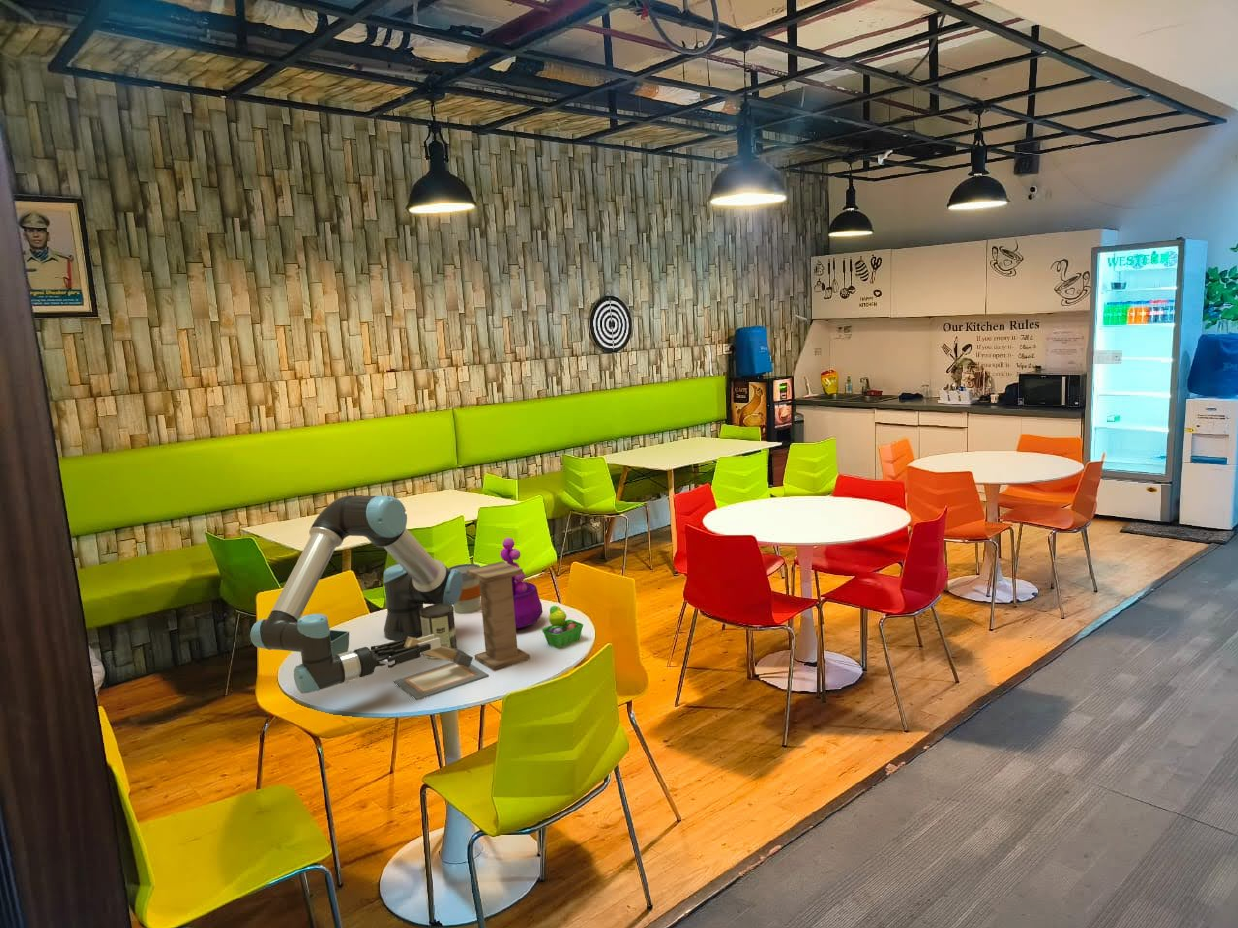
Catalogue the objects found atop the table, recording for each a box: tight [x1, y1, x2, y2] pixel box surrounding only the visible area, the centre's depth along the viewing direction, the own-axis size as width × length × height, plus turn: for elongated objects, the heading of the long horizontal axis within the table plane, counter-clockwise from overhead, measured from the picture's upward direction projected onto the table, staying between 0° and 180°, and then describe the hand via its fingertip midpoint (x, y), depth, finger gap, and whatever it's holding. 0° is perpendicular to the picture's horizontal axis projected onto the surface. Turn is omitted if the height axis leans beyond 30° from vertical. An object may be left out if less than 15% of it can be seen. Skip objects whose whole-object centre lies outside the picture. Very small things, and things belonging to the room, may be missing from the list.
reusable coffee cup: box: [447, 563, 481, 615], centre depth 300 cm, size 13×13×15 cm
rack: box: [467, 560, 531, 672], centre depth 251 cm, size 12×12×28 cm
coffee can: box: [419, 604, 458, 660], centre depth 261 cm, size 10×10×14 cm
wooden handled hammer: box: [404, 636, 474, 667], centre depth 240 cm, size 8×19×3 cm, turn 127°
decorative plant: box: [500, 537, 543, 629], centre depth 279 cm, size 19×18×30 cm
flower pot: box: [330, 629, 350, 656], centre depth 258 cm, size 9×9×9 cm
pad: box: [392, 661, 490, 701], centre depth 241 cm, size 16×22×1 cm
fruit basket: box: [541, 605, 584, 649], centre depth 264 cm, size 11×9×11 cm
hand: (436, 640), depth 239 cm, fingers closed on wooden handled hammer, 3 cm apart
